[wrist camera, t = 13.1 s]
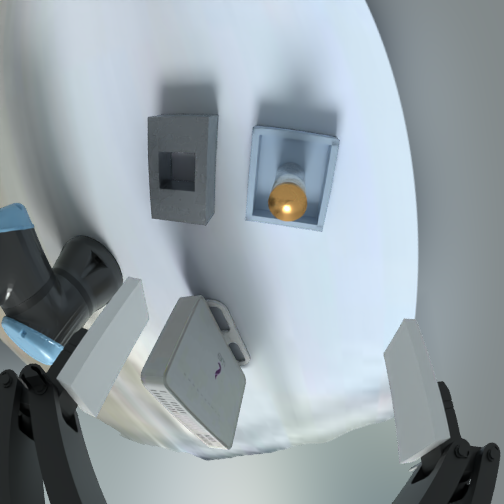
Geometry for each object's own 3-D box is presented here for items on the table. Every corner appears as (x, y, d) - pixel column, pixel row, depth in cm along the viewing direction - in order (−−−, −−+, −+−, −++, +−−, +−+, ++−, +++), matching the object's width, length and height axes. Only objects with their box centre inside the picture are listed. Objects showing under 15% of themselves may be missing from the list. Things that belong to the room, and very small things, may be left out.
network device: (257, 371, 58) (242, 452, 41) (221, 372, 60) (200, 448, 43) (216, 282, 46) (175, 382, 29) (172, 288, 48) (123, 377, 31)
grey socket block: (214, 213, 39) (205, 225, 36) (163, 207, 40) (151, 218, 37) (218, 115, 32) (208, 117, 29) (162, 114, 33) (147, 117, 29)
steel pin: (274, 187, 35) (266, 218, 27) (277, 160, 33) (270, 182, 25) (302, 191, 35) (303, 224, 27) (307, 164, 33) (310, 188, 25)
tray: (320, 222, 38) (322, 231, 35) (249, 211, 38) (245, 220, 36) (336, 136, 31) (339, 140, 29) (256, 125, 32) (253, 127, 30)
